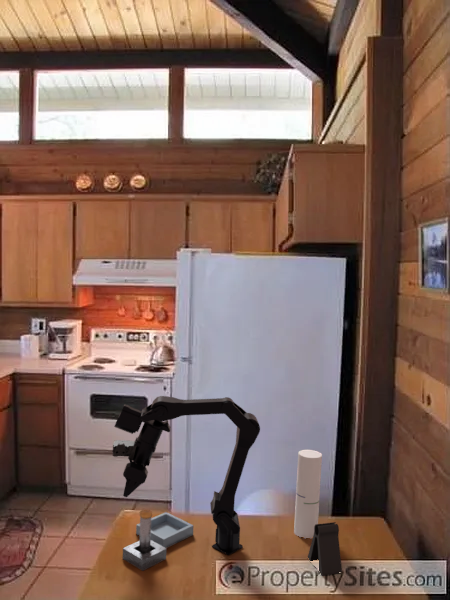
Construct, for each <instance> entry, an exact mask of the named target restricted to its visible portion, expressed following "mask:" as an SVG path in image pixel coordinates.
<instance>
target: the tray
mask: <svg viewBox="0 0 450 600" xmlns="http://www.w3.org/2000/svg"><path fill="white" fill-rule="evenodd" d="M135 526H136V528H135V529H136V530H135V535H136V534H137V535H136V536H138V535H139V536H138V537H140V522H139V523H137V524H136V525H135ZM193 535H194V524H191V523H189V522H188V521H186V520H183V519H182V518H180V517H177V516H176V515H173V514H171V513H169V512H167V511H165V512H163V513H161V514H159V515H156V516H154V517H153V516H152V517H151V540H152V541H154V542H156V543H157V544H159V545H161V546H163V547H165V548H166V549H168V548H170V547H171V546H173V545H176V544H177V543H180V542H182V541H184V540H186V539H188V538H190V537H192V536H193Z"/></svg>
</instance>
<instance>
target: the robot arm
mask: <svg viewBox="0 0 450 600" xmlns="http://www.w3.org/2000/svg"><path fill="white" fill-rule="evenodd" d="M199 415H200V416H201V415H202V416H204V415H225V416H226V417H227V418H228V419H229V420H230V421H231V422H232V423H233V424H234V425H235V426H236V436H235V437H236V438H235V444H234V445H235V446H234V449H233V451H232V453H231V454H232V455H231V458H230V461H229V464H228V468H227V470H226V471H227V472H226V474H225V479H224V481H223V484H222V487H221V489H220V490H219V492H218V491H215V490H214V491H213V497H212V500H211V501H210V514H211V515H212V521H213V523H214V524H215V525H216V529H215V541H214V542H215V543H213V544H212V546H211V547H212V548H213V549H215V550H217V551H219V552H221V553H223V554H225V555H226V556H230V555H232V554H234V553H235V552H237V551H239V550H241V549H243V547H244V546H243V544H241V543H240V541H241V540H240V538H241V535H240V534H241V527H240V521H239V516H238V515H239V514H238V512H236V511H235V499H236V497H235V496H236V493H237V489H238V487H239V483H240V480H241V477H242V474H243V470H244V467H245V463H246V460H247V457H248V455H249V451H250V450H251V448H252V447H253V445H254V444H255V443H256V440H257V438H258V436H259V434H260V431H261V426H260V424H259V421H258V418H257V417H256V415H254V414H253V413H251V412H247V411H246V410H244V409H243V408H242V407H241V406H240V405H238V404H237V403H236V402H235V401H234V400H233V399H232V398H231V397H229V396H228V397H223V398H221V397H220V398H199V399H198V398H197V399H181V398H176V397H173V396H166V395H160V396H156V398H154V400H153V401H152V403H150V404H149V405H147V406H146V407H144V408H142V410H139V409H137V408H135V407H132V406H130V405H128V404H123V407H122V409H121V411H120V413H119V415H118V417H117V419H116V422H115V424H114V428H116V429H118V430H121V431H123V432H126V433H129V434H131V435H133V434H136V433H138V432H139V430H140V428H141V430H140V432H139V434H138V436H137V437H135V440H125V439H124V440H123V439H122V440H121V439H116V440H114V441H113V443H112V456H113V457H114V458H116V457H128V458H127V460H129V462H128V463H126V465H125V467H124V469H123V472H122V475H123V477H124V478H125V485H124V490H123V494H122V497H125V498H129V496H130V495H131V494H132V493H133V492H134V491H135V490H136V489H137V488H139V487H140V486H141V485H143V484H144V483H146V480H147V478H148V473H149V471H148V469H147V467H149V466H150V463H151V459H152V457H153V455H154V453H155V452H156V449H157V445H158V443H159V440H160V439H161V436H162V434H163V432H164V431H165V432H167V433H170V432H171V426H170V423H169V421H171V420H174V419H177V418H180V417H184V416H199ZM142 423H143V424H142ZM141 425H142V427H141ZM146 466H147V467H146Z"/></svg>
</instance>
